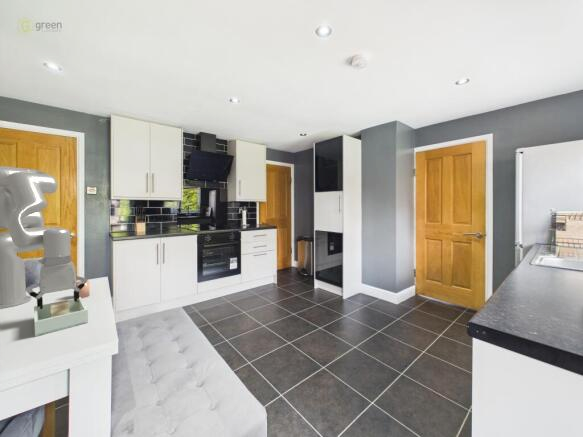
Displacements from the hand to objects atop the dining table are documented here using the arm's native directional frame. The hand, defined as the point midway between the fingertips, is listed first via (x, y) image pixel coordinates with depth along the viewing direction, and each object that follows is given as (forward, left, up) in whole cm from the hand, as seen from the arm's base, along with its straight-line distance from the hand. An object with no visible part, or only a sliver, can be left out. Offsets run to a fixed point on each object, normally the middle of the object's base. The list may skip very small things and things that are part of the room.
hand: (59, 304), depth 94 cm
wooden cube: (0, 0, -5) cm, 5 cm away
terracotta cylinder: (-14, +19, -5) cm, 24 cm away
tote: (+4, -2, -5) cm, 7 cm away
